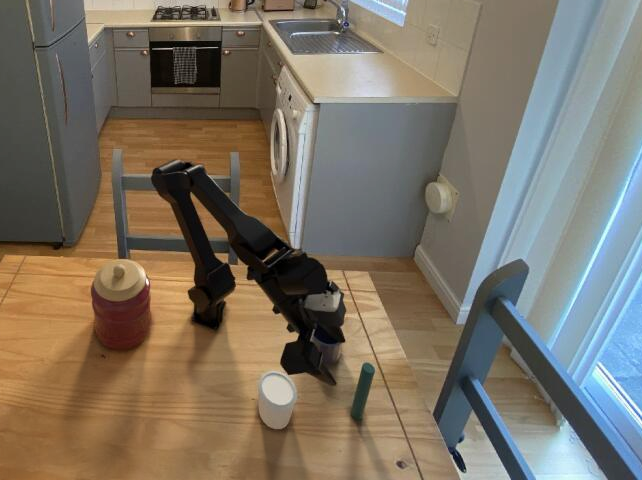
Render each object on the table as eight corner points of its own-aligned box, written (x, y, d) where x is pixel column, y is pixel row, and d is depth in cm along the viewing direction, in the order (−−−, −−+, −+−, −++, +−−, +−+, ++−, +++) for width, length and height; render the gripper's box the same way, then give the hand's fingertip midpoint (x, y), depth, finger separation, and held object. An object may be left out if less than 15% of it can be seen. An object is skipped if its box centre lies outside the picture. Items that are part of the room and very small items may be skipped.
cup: (303, 356, 88) (306, 338, 86) (307, 329, 94) (310, 312, 92) (338, 369, 86) (342, 351, 84) (340, 341, 91) (344, 323, 89)
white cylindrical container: (294, 437, 75) (299, 412, 72) (255, 428, 76) (258, 404, 73) (291, 397, 81) (295, 373, 78) (255, 390, 82) (257, 366, 80)
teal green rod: (350, 417, 78) (362, 370, 73) (350, 406, 79) (362, 360, 74) (362, 422, 77) (375, 375, 72) (362, 411, 78) (375, 364, 73)
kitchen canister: (142, 295, 104) (140, 239, 97) (159, 341, 92) (157, 281, 85) (90, 310, 100) (83, 252, 93) (100, 359, 89) (94, 298, 82)
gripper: (307, 323, 65) (373, 407, 64) (330, 247, 79) (384, 314, 78) (254, 335, 71) (313, 411, 70) (285, 263, 86) (334, 326, 85)
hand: (339, 362), depth 76 cm, fingers open, 9 cm apart
